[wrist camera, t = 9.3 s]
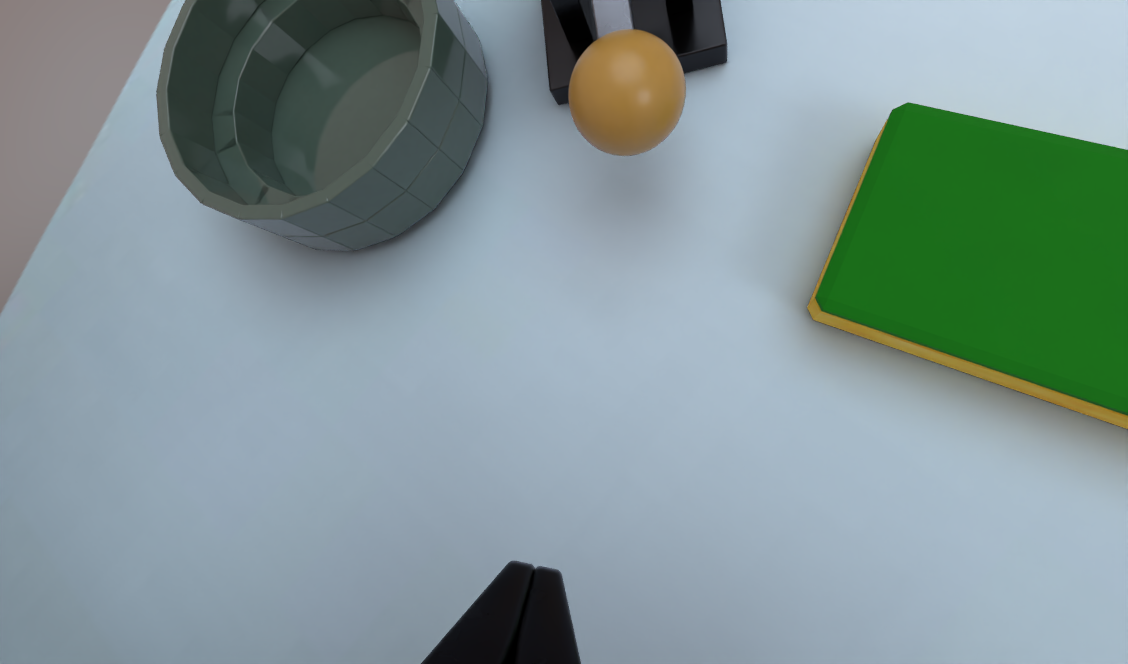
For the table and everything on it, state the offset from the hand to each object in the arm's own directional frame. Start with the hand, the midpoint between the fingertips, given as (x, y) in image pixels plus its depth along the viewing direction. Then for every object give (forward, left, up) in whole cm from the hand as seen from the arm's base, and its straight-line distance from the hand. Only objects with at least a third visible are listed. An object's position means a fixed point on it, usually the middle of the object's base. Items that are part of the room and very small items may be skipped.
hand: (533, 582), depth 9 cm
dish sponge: (-1, -15, -12) cm, 19 cm away
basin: (+21, +3, -12) cm, 24 cm away
